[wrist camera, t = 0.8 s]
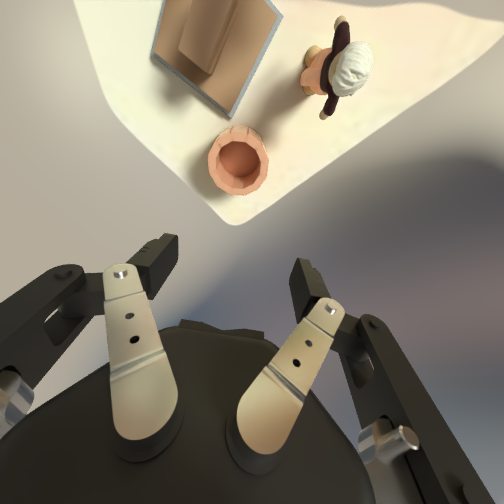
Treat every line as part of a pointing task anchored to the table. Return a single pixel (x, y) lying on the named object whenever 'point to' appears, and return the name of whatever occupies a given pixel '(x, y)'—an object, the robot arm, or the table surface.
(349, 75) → the grandmother figurine
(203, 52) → the lid
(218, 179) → the bowl
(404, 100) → the table surface
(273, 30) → the mat
